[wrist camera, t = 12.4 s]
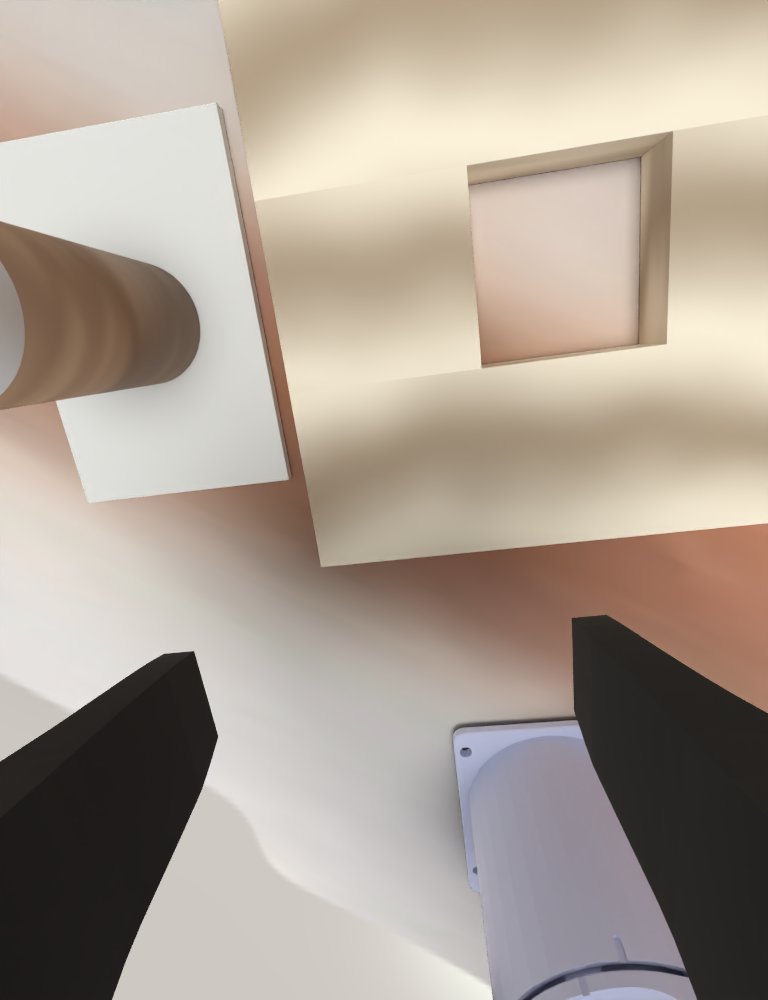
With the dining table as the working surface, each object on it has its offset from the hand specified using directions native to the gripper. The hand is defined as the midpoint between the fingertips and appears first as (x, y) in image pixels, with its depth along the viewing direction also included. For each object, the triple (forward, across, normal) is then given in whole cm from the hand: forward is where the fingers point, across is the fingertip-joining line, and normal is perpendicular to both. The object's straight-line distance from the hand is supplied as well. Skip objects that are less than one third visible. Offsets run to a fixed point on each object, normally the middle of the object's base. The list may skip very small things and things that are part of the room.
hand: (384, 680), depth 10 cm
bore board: (+10, -6, -8) cm, 14 cm away
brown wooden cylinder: (+10, +8, -8) cm, 15 cm away
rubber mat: (+10, +8, -8) cm, 15 cm away
